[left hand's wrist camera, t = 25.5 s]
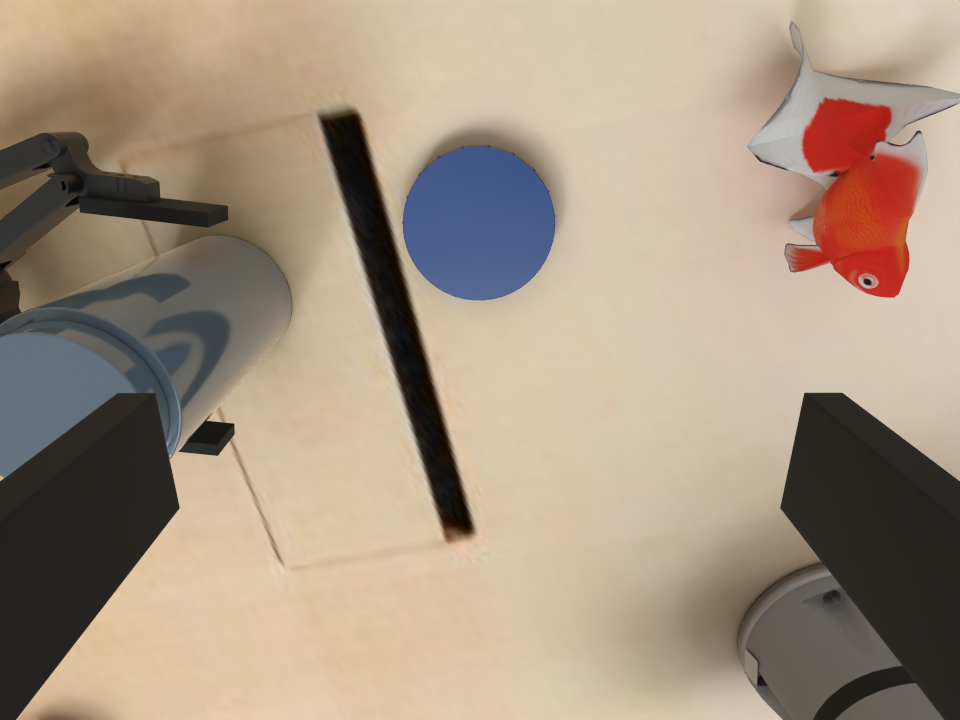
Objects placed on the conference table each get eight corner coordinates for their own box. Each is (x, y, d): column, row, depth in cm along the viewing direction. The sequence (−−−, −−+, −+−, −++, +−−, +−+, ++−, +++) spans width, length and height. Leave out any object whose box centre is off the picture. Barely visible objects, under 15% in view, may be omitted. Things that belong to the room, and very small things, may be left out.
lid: (514, 116, 37) (516, 116, 36) (575, 256, 40) (579, 262, 39) (378, 187, 39) (374, 190, 37) (447, 316, 42) (446, 325, 40)
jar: (178, 360, 43) (-18, 516, 26) (150, 237, 40) (-92, 323, 23) (300, 356, 43) (183, 510, 26) (282, 232, 40) (135, 316, 23)
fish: (717, 324, 37) (863, 287, 28) (676, 76, 38) (803, -42, 29) (854, 309, 40) (1027, 272, 31) (812, 81, 41) (967, -23, 32)
